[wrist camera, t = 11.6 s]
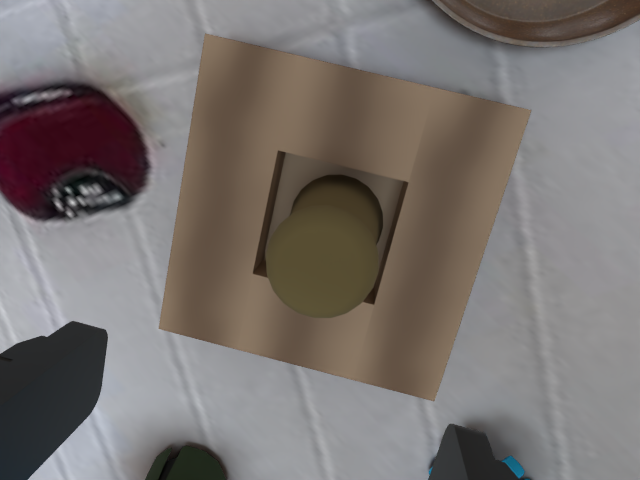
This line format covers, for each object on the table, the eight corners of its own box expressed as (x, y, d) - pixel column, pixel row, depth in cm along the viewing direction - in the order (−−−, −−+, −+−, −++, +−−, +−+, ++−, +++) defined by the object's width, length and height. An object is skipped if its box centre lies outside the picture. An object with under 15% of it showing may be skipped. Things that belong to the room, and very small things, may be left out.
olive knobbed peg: (400, 240, 31) (415, 302, 21) (318, 281, 32) (292, 359, 22) (355, 156, 30) (347, 176, 20) (272, 202, 31) (222, 244, 21)
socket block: (510, 111, 30) (531, 110, 26) (427, 369, 34) (434, 401, 30) (226, 44, 30) (205, 33, 27) (182, 305, 35) (158, 328, 31)
